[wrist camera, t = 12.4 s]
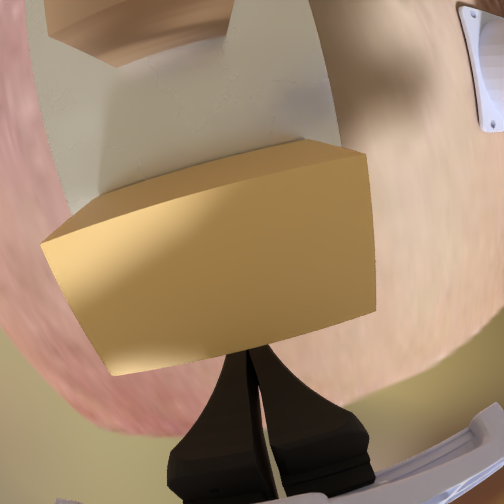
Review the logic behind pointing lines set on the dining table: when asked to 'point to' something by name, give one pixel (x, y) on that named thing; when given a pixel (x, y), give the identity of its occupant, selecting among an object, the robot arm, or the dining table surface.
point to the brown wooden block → (134, 25)
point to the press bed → (181, 99)
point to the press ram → (220, 256)
